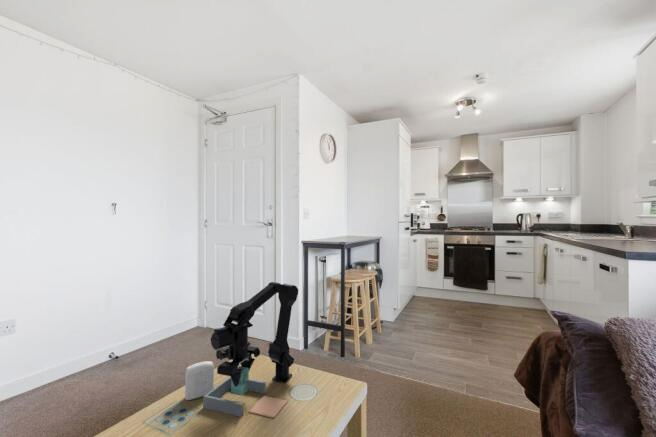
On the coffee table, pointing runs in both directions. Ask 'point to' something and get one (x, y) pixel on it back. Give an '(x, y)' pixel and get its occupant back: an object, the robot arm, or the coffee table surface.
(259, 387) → the open-front gray frame
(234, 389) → the teal block
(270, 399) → the terracotta mat
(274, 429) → the coffee table surface
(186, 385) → the photo printer
